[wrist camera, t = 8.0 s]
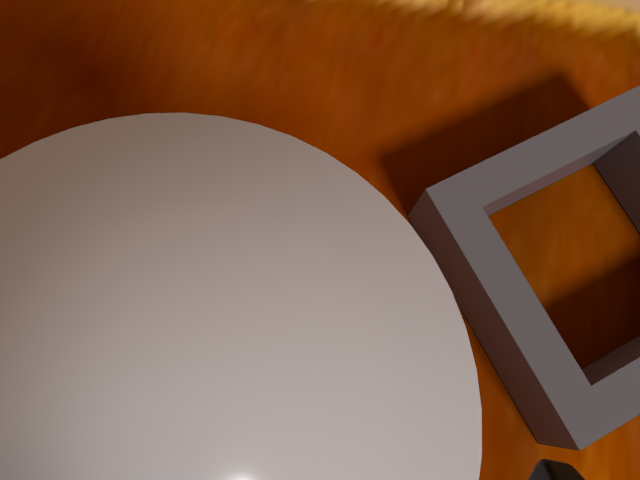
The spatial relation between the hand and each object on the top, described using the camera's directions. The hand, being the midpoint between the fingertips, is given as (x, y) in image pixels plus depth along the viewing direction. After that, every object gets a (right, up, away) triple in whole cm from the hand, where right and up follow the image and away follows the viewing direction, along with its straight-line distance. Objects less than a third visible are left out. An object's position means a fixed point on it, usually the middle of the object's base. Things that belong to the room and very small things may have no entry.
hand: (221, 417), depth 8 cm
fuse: (-1, -2, +8) cm, 9 cm away
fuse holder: (+10, +2, +11) cm, 14 cm away
